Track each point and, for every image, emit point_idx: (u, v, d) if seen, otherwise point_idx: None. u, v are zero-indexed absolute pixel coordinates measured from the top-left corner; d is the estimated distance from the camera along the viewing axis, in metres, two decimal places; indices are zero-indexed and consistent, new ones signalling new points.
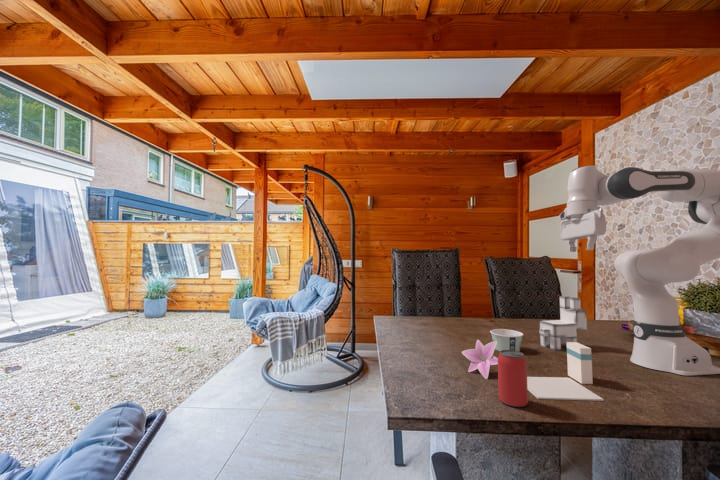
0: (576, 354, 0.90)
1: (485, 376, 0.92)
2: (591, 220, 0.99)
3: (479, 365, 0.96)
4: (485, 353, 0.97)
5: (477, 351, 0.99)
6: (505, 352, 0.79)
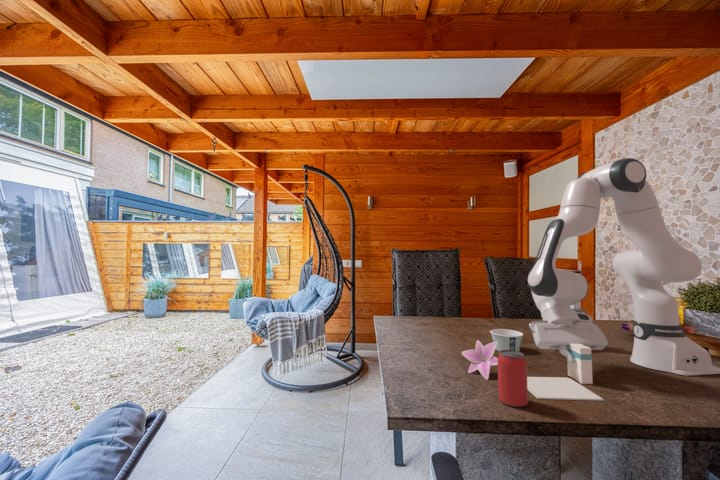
0: (576, 354, 0.90)
1: (485, 377, 0.91)
2: None
3: (479, 366, 0.95)
4: (485, 354, 0.97)
5: (477, 352, 0.98)
6: (505, 352, 0.79)
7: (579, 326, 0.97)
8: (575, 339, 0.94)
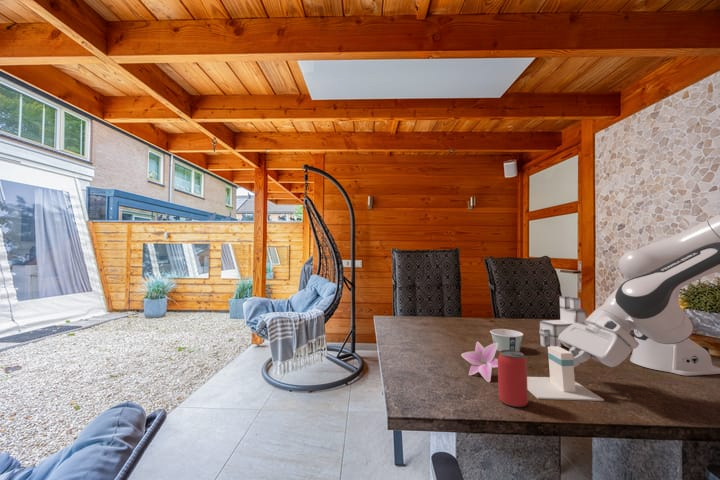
0: (557, 360, 0.83)
1: (487, 379, 0.89)
2: None
3: (480, 368, 0.93)
4: (485, 356, 0.95)
5: (477, 353, 0.96)
6: (505, 352, 0.79)
7: (600, 334, 0.81)
8: (582, 343, 0.84)
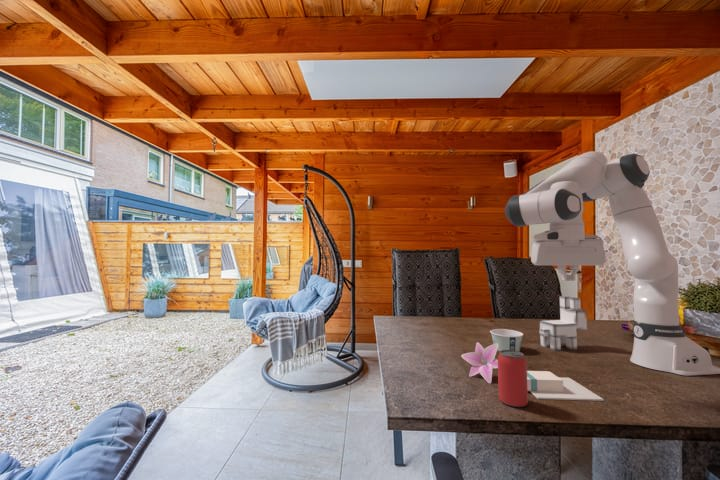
0: None
1: (488, 380, 0.88)
2: (599, 249, 0.91)
3: (481, 369, 0.92)
4: (486, 357, 0.94)
5: (477, 354, 0.96)
6: (505, 352, 0.79)
7: None
8: None
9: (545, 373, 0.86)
